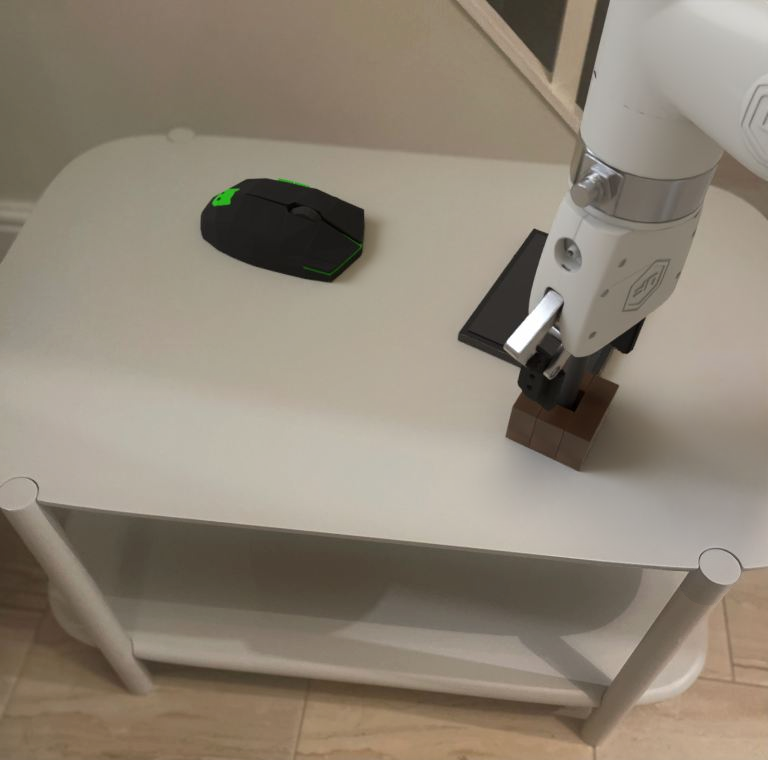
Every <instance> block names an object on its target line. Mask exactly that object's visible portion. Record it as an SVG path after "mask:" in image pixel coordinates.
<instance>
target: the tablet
mask: <svg viewBox="0 0 768 760" xmlns="http://www.w3.org/2000/svg"><path fill="white" fill-rule="evenodd" d="M548 234H549V232H548V233H547V232H545V231H543V230H540V229H537V228H533V229H532V230H531V231H530V233H529V234H528V236H526V238H525V240H524V241H523V242H522V244H521V245H520V247H519V248H518V250H517V251H516V252H515V253H514V255H513V256H512V257H511V259H510V260H509V262H508V263H507V264H506V266H505V268H504V269H503V270H502V272H501V273H500V275H498V277H497V279H496V280H495V282H494V283H493V284H492V286H491V287H490V288H489V289H488V291H487V293H486V294H485V295H484V297H483V298H482V299H481V301H480V302H479V304H478V305H477V306H476V307H475V309H474V311H473V312H472V313H471V314H470V316H469V318H468V319H467V320H466V322H465V323H464V325H463V326H462V327H461V328H460V330H459V332H458V333H457V341H459V342H462V343H464V344H466V345H468V346H470V347H473V348H476V349H477V350H480V351H482V352H485V353H487V354H489V355H491V356H493V357H496V358H499V359H500V360H503V361H505V362H508V363H509V364H512V365H514V366H516V367H518V368H521V365H522V364H521V363H520V362H519V361H517V360H516V359H515V358H514V357H512V356H511V355H510V354H509V353H508V352H507V351H505V350H504V348H503V347H504V344H505V343H506V341H507V340H508V339H509V338H510V337H511V335H512V334H513V333H514V332H515V331H516V329H517V328H518V327H519V326H520V325H521V324H522V322H523V321H524V320H525V319H526V318H527V316H528V315H529V302H530V296H531V291H532V286H533V282H534V278H535V275H536V271H537V268H538V264H539V261H540V258H541V255H542V252H543V249H544V246H545V243H546V240H547V237H548ZM557 322H558V323H559V320H558V321H557ZM560 344H561V343H560V342H559V341H558V340H557V339H555V338H554V337H553V336H552V335H550V334H549V333H547V334H546V335H545V337H544V338H543V340H542V342H541V343H540V345H539V346H540V347H542V348H543V349H544V350H545V351H547V352H548V353H549V354H550V355H551V356H553V355H554V354H555V352H556V350H557V349H558V347H559V346H560ZM614 349H615V347H613V346H612V345H611V344H609V343H608V344H607V345H605V346H604V347H602V348H601V349H599V350H598V351H596V352H595V353H593V354H591V355H590V358H589V361H588V364H587V367H586V370H585V371H588V372H590V373H592V374H594V375H597V376H599V377H600V374H601V372H602V370H603V368H604V367H605V365H606V363H607V361H608V359H609V358H610V356H611V354H612V353H613V351H614ZM567 361H568V360H567ZM567 361H566V362H567Z"/></svg>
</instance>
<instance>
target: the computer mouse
mask: <svg viewBox="0 0 768 760" xmlns="http://www.w3.org/2000/svg"><path fill="white" fill-rule="evenodd" d="M199 222H200V224H199V225H200V226H199V228H200V234H201V236H202V239H203V240H204V241H206V242H207V243H208V244H210V246H212V247H213V248H215V250H217V251H219V252H220V253H223V254H225V255H227V256H228V257H230V258H233V259H235V260H238V261H240V262H242V263H245V264H248V265H251V266H254V267H257V268H259V269H260V268H261V269H264V270H268V271H272V272H276V273H280V274H284V275H288V276H293V277H296V278H300V279H305V280H311V281H319V282H324V283H325V282H326V283H332V282H333V281H334V280H336V279H337V278H338V277H339V276H340V275H342V273H344V272H345V271H346V270H347V269H348V268H350V266H351V265H353V263H354V262H355V261H356V260H358V259H359V258H360V257H361V256H362V254H363V249H364V239H365V236H364V235H365V208H361V207H359V206H357V205H355V204H353V203H350V202H348V201H346V200H344V199H341V198H339V197H337V196H334V195H331V194H329V193H327V192H326V191H323V190H321V189H318V188H316V187H310V185H307V184H304V183H301V182H298V181H295V182H294V181H293V180H289V179H284V178H278V179H273V178H268V177H261V178H260V177H258V178H246V179H244V180H242V181H240V182H238V183H237V184H234V185H233V186H231V187H229V188H227V189H225V190H223V191H222V192H219V193H218V194H216V195H215V196H213V197H211V199H210V201H209V202H208V203H207V204H206V206H205V207H204V208H203V210H202V211H201V213H200V219H199Z"/></svg>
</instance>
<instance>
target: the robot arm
mask: <svg viewBox="0 0 768 760" xmlns="http://www.w3.org/2000/svg"><path fill="white" fill-rule="evenodd" d="M599 40H600V41H599V45H598V49H597V53H596V57H595V60H594V61H595V62H594V65H593V70H592V74H591V79H590V83H589V86H588V91H587V95H586V100H585V104H584V109H583V113H582V117H581V121H580V124H579V128H578V131H577V136H576V141H575V145H574V148H573V153H572V157H571V161H570V165H569V169H568V173H567V186H568V187H567V188H568V190H567V191H566V192H565V193H564V195H563V198H562V200H561V202H560V205H559V207H558V209H557V211H556V213H555V216H554V219H553V222H552V224H551V227H550V229H549V232H548V237H547V240H546V243H545V246H544V249H543V252H542V255H541V258H540V261H539V264H538V268H537V271H536V275H535V278H534V282H533V286H532V291H531V296H530V302H529V315H528V316H527V318H526V319H525V320H524V321H523V322H522V324H521V325H520V326H519V327H518V328H517V329H516V331H515V332H514V333H513V334H512V335H511V337H510V338H509V339H508V340H507V341H506V343H505V344H504V347H503V348H504V350H505V351H507V352H508V353H509V354H510V355H511V356H512V357H514V358H515V359H516V360H517V361H519V362H520V363H521V364H522V365H521V367H520V369H519V373H518V377H517V381H516V383H517V386H518V387H519V389H520V390H521V392H523V393H524V394H525V395H526V396H527V397H528V398H529V399H531V400H532V401H536V402H537V403H538V404H539V405H540V406H541V407H543V408H544V409H545V410H546V411H551V410H552V409H553V408H555V406H556V403H557V400H558V397H559V394H560V390H561V387H562V384H563V381H564V378H565V375H566V374H565V372H564V370H563V369H562V367H563V366H564V364H565V363H566V361H567V360H568V358H569V356H570V355H571V354H572V355H573V356H575V357H584V356H588V355H591V354H593V353H595V352H596V351H598V350H599V349H601V348H602V347H604V346H605V345H607V344H608V343H609V344H611V345H612V346H613V347H614V349H615V350H617V351H619V352H620V353H621V354H622V355H624V354H625V355H628V354H629V353H631V352H632V351H634V348H635V346H636V344H637V341H638V339H639V337H640V334H641V331H642V329H643V326H644V323H645V321H646V318H647V316H649V315H650V314H651V313H653V312H654V311H656V310H657V309H658V308H660V307H661V306H662V305H664V303H665V302H666V301H668V299H669V298H670V297H671V296H672V295H673V294H674V292H675V289H676V288H677V286H678V282H679V280H680V277H681V274H682V272H683V270H684V267H685V264H686V261H687V258H688V256H689V254H690V250H691V247H692V245H693V241H694V238H695V237H696V232H697V229H698V226H699V223H700V219H701V215H702V213H703V208H704V204H705V200H706V195H707V192H708V190H709V188H710V185H711V183H712V181H713V178H714V176H715V174H716V171H717V168H718V166H719V163H720V161H721V159H722V157H723V154H724V152H726V153H728V155H730V156H731V157H732V158H733V159H734V160H735V161H737V162H738V163H740V164H741V165H742V166H743V167H744V168H746V169H747V170H749V171H750V172H751V173H753V174H754V175H755V176H757V177H759V178H760V179H762V180H764V181H766V182H768V0H609V4H608V8H607V11H606V15H605V19H604V24H603V27H602V32H601V37H600V39H599ZM558 320H559V323H558V322H557V321H558ZM547 333H549V334H550V335H552V336H553V337H554V338H555V339H557V340H558V341H559V342H560V343H561V344H560V346H559V347H558V349H557V350H556V352H555V354H554V355H553V356H551V355H550V354H549V353H548V352H547V351H545V350H544V349H543V348H542V347H540V346H539V345H540V343H541V342H542V340H543V338H544V337H545V335H546V334H547Z"/></svg>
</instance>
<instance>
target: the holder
mask: <svg viewBox="0 0 768 760" xmlns="http://www.w3.org/2000/svg"><path fill="white" fill-rule="evenodd" d="M566 364H567V362H566V363H565V364H564V366H563V367H562V369H563V370H564V371H565V367H566ZM619 388H620V384H618V383H615V382H613V381H611V380H609V379H606V378H604V377H602V376H600V375H599V376H597V375H594V374H592V373H590V372H588V371H585V373H584V376H583V379H582V382H581V385H580V387H579V390H578V393H577V396H576V399H575V402H574V405H573V408H572V411H571V410H569V409H567V408H564V407H562V406H560V405H558V404H556V406H555V408H553V409H552V410H551V411H546V410H545V409H544V408H543V407H541V406H540V405H539V404H538V403H537V402H536V401H532V400H531V399H529V398H528V397H527V396H526V395H525V394H524V393H523V392H522V391H521V392H520V394H519V395H518V396H517V398H516V400H515V402H514V403H513V405H512V407H511V411H510V416H509V419H508V425H507V427H506V432H505V438H507V439H509V440H511V441H512V442H515V443H518V444H520V445H522V446H524V447H526V448H528V449H530V450H532V451H534V452H537V453H539V454H541V455H543V456H544V457H547V458H550V459H552V460H555V461H556V462H558V463H560V464H562V465H564V466H566V467H569V468H571V469H572V470H574V471H577V472H579V471H580V470H581V468H582V466H583V464H584V462H585V460H586V458H587V457H588V454H589V453H590V450H591V448H592V446H593V445H594V442H595V441H596V439H597V437H598V435H599V433H600V431H601V429H602V427H603V425H604V423H605V421H606V419H607V417H608V416H609V412H610V410H611V408H612V406H613V403H614V400H615V398H616V395H617V394H618V393H617V392H618V390H619Z"/></svg>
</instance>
